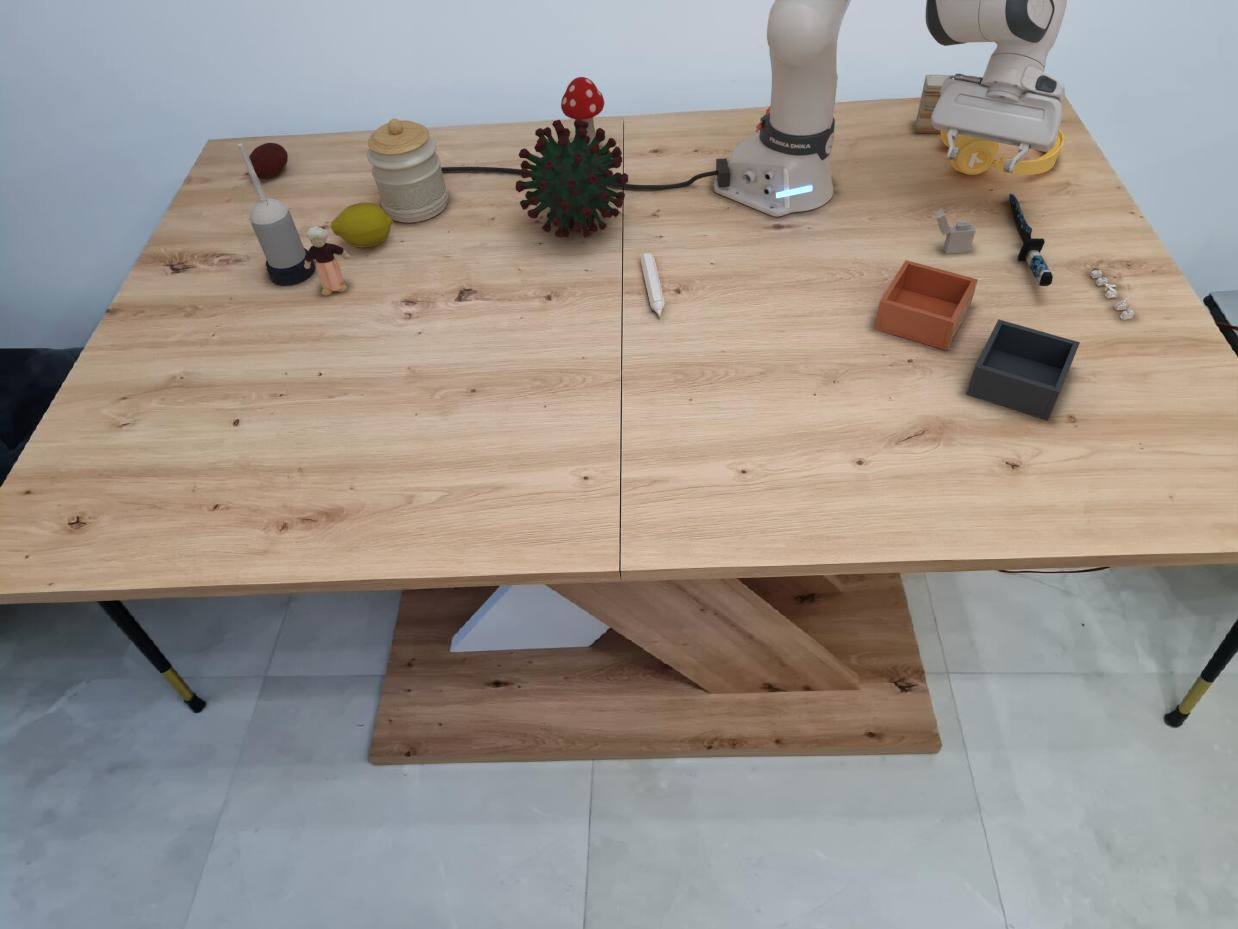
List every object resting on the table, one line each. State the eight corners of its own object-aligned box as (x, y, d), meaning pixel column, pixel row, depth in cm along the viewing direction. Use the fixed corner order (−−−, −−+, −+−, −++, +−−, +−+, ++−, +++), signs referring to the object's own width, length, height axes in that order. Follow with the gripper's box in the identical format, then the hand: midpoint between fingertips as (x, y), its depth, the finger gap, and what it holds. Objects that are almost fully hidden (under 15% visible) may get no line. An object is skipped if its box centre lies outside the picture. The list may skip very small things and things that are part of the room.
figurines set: (1088, 275, 148) (1093, 261, 146) (1105, 273, 148) (1111, 259, 146) (1123, 322, 140) (1129, 308, 138) (1141, 320, 140) (1147, 305, 138)
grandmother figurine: (319, 301, 158) (294, 240, 148) (313, 290, 160) (289, 229, 150) (361, 286, 160) (339, 225, 150) (355, 275, 162) (333, 214, 152)
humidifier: (300, 252, 168) (250, 126, 149) (323, 270, 164) (275, 142, 145) (262, 273, 164) (205, 147, 146) (285, 291, 160) (230, 164, 141)
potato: (299, 167, 188) (290, 140, 184) (268, 188, 184) (257, 161, 179) (275, 159, 191) (264, 132, 187) (243, 179, 187) (231, 153, 182)
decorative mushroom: (607, 162, 181) (601, 90, 170) (565, 165, 182) (556, 93, 170) (608, 137, 188) (603, 66, 177) (567, 139, 188) (559, 68, 177)
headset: (1068, 181, 166) (1082, 135, 159) (949, 188, 168) (958, 142, 161) (1042, 132, 177) (1055, 87, 171) (932, 140, 180) (939, 95, 173)
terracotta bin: (874, 328, 143) (879, 300, 139) (899, 287, 149) (905, 259, 145) (946, 350, 139) (954, 322, 134) (970, 307, 145) (978, 279, 141)
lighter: (967, 246, 155) (977, 205, 149) (970, 252, 154) (981, 211, 148) (925, 249, 156) (934, 208, 150) (928, 255, 154) (937, 214, 148)
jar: (370, 218, 174) (343, 132, 161) (405, 182, 182) (382, 98, 168) (428, 229, 170) (405, 142, 157) (461, 192, 178) (442, 106, 164)
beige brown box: (916, 133, 180) (925, 84, 173) (915, 122, 183) (924, 73, 176) (943, 134, 180) (953, 85, 172) (941, 123, 182) (952, 74, 175)
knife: (1048, 300, 143) (1056, 275, 140) (1028, 299, 143) (1036, 274, 140) (1020, 209, 165) (1027, 186, 161) (1003, 208, 165) (1009, 185, 162)
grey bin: (966, 394, 132) (974, 366, 128) (989, 347, 138) (998, 318, 134) (1048, 420, 128) (1059, 392, 124) (1068, 370, 134) (1080, 342, 130)
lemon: (400, 228, 171) (389, 191, 165) (395, 253, 166) (383, 215, 160) (343, 233, 171) (330, 196, 165) (337, 258, 166) (323, 221, 160)
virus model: (531, 269, 159) (514, 167, 144) (516, 208, 173) (499, 108, 158) (642, 249, 161) (636, 146, 146) (619, 190, 174) (611, 89, 159)
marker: (659, 324, 148) (646, 265, 159) (670, 318, 148) (656, 259, 158) (651, 315, 147) (637, 256, 157) (662, 308, 146) (648, 249, 156)
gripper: (945, 63, 150) (915, 146, 152) (1074, 86, 142) (1041, 173, 144) (948, 78, 156) (919, 157, 158) (1072, 101, 148) (1040, 184, 150)
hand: (978, 165), depth 151 cm, fingers open, 8 cm apart
